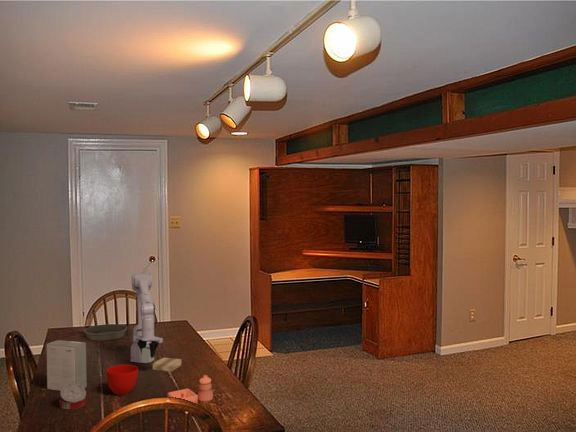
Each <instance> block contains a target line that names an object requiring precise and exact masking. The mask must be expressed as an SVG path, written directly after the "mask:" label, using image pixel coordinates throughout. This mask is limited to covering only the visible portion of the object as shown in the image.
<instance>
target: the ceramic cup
mask: <svg viewBox="0 0 576 432" xmlns="http://www.w3.org/2000/svg"><path fill="white" fill-rule="evenodd" d="M105 372H106V380H107V385H108V387H109V389H110V390H111V391H112V392H113V393H114V395H118V396H124V395H128V394H130V393H131V392H132V391H133V389H134V388H135V386H136V384H137V383H138V382H137V381H138V377H139V368H138V366H136V365H135V364H134V365H133V364H117V365H113V366H110V367H109V368H107V369H106V371H105Z"/></svg>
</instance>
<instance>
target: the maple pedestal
mask: <svg viewBox="0 0 576 432" xmlns="http://www.w3.org/2000/svg"><path fill="white" fill-rule="evenodd" d="M180 367H182V359H181V358H171V357H161V358H160V359H158V360H156V361H154V362H153V363H152V370H154V371H164V372H173V371H175V370H176V369H178V368H180Z"/></svg>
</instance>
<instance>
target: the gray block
mask: <svg viewBox="0 0 576 432" xmlns="http://www.w3.org/2000/svg"><path fill="white" fill-rule="evenodd" d="M154 360H155V356H154V357H152V358H151V356H150V347H145V348H143V349H142V362H147V363H151V362H153V361H154Z"/></svg>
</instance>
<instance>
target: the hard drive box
mask: <svg viewBox="0 0 576 432" xmlns="http://www.w3.org/2000/svg"><path fill="white" fill-rule="evenodd" d="M45 346H46V347H45V348H46V350H45V351H46V388H47V390H53V391H60V392H61V389H62V388H63V386H64V385H66V384H67V383H69V382H72V381H73V382H78V383H80V384H81V385H82V386H83V387H84V389H86V388H87V387H88V386H87V377H88V376H87V343H86V342H83V341H74V340H73V341H71V340H60V339H59V340H58V339H57V340H54V341H50V342H48V343H46V345H45Z"/></svg>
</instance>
